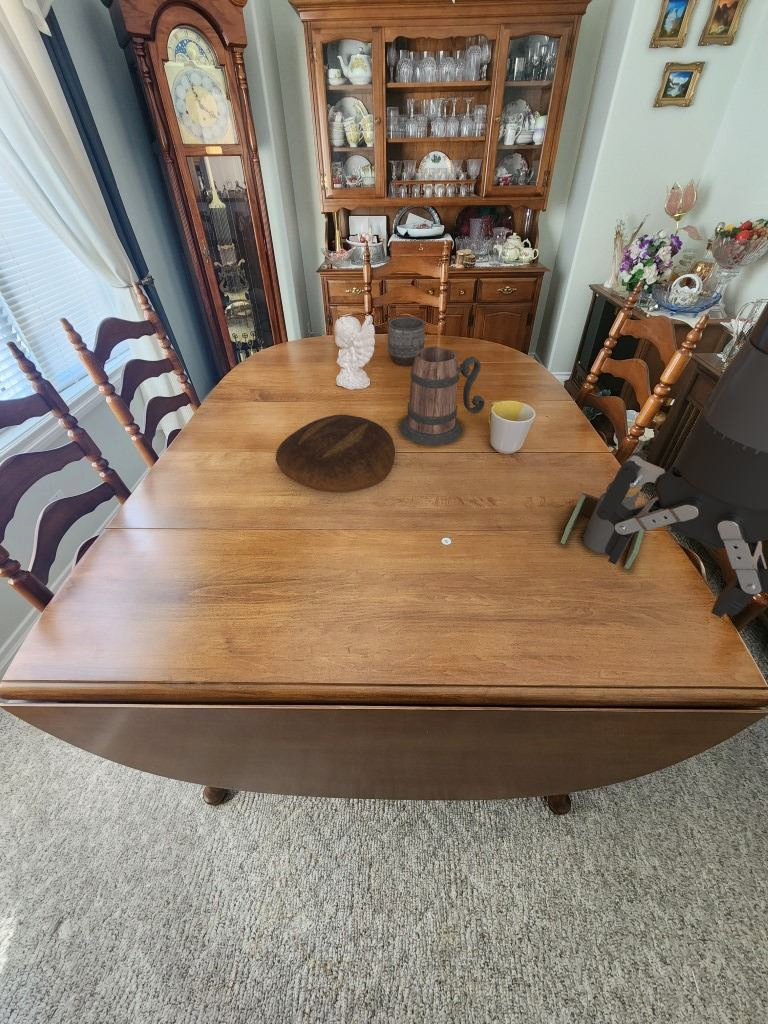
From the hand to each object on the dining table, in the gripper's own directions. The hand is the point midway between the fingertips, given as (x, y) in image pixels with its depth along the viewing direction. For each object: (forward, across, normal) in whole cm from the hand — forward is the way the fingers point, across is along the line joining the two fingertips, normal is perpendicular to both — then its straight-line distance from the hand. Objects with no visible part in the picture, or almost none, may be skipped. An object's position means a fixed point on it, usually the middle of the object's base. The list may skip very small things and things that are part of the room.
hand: (663, 582), depth 38 cm
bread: (+30, +68, -21) cm, 77 cm away
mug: (+30, +42, -54) cm, 75 cm away
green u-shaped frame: (+30, +10, -37) cm, 49 cm away
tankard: (+30, +59, -51) cm, 84 cm away
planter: (+30, +94, -77) cm, 125 cm away
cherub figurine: (+30, +96, -55) cm, 115 cm away
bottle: (+30, +10, -36) cm, 48 cm away
